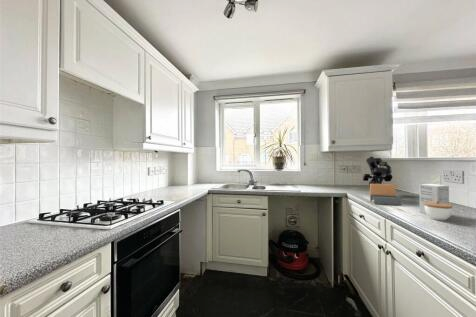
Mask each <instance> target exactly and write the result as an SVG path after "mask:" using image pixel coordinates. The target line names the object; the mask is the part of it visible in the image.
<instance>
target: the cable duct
mask: <svg viewBox="0 0 476 317" xmlns="http://www.w3.org/2000/svg"><path fill="white" fill-rule="evenodd" d="M369 201H371V203H372V204H373V203H374V204H373V205H388V206H402V198H401V197H397V196H388V195H370V194H369Z"/></svg>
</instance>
